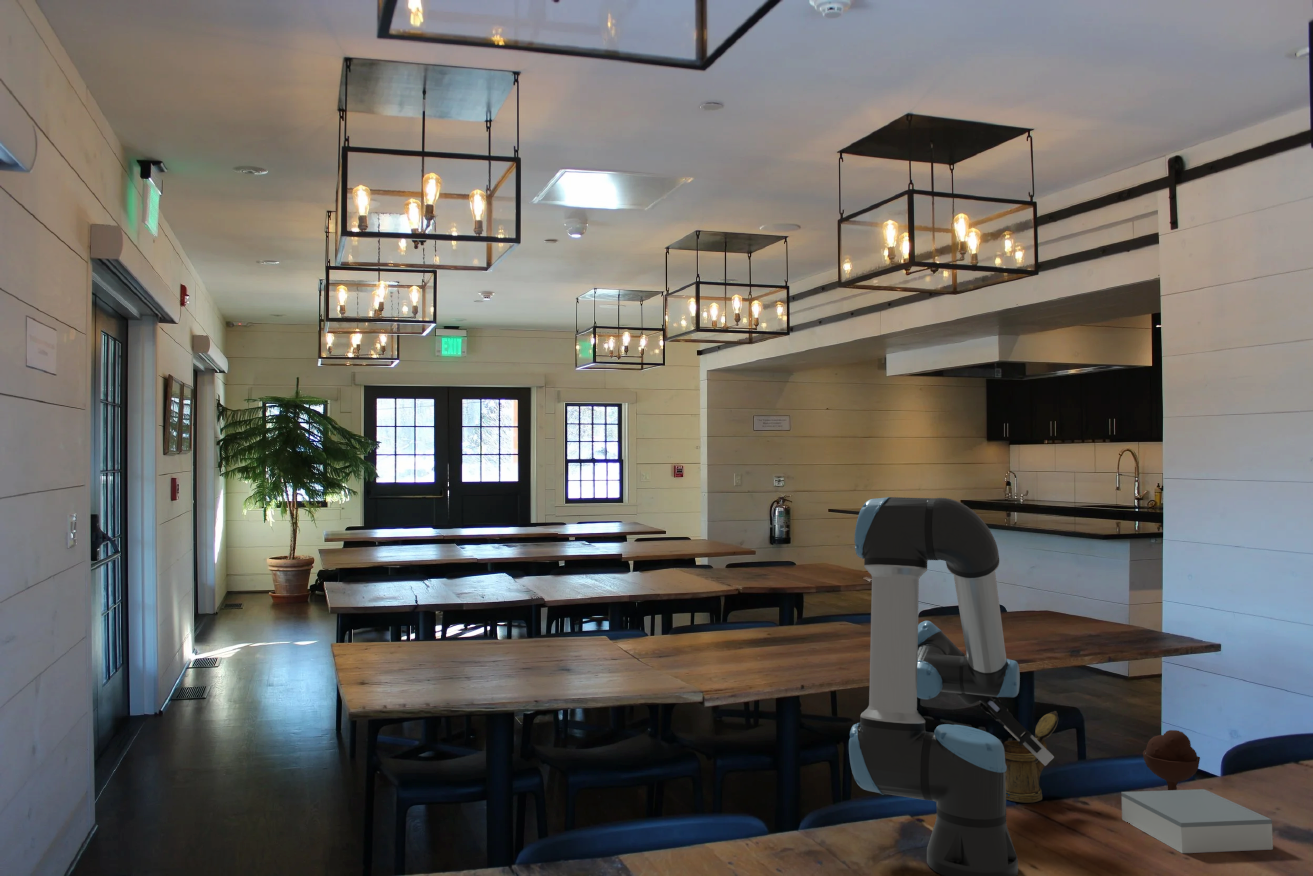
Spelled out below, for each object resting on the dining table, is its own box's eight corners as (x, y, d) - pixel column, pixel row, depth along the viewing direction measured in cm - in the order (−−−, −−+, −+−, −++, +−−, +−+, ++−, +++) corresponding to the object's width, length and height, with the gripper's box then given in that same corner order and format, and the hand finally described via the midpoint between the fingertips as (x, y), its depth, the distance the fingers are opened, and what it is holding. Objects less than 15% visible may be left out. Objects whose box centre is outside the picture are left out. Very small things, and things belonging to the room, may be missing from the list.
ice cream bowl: (1202, 797, 203) (1200, 727, 204) (1200, 812, 193) (1197, 738, 194) (1147, 789, 208) (1145, 720, 209) (1142, 803, 199) (1140, 731, 200)
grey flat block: (1182, 853, 171) (1181, 823, 171) (1122, 819, 189) (1121, 792, 189) (1272, 849, 173) (1271, 819, 173) (1205, 816, 191) (1204, 789, 191)
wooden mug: (1070, 801, 200) (1068, 715, 201) (1009, 804, 198) (1008, 717, 199) (1048, 788, 209) (1046, 706, 210) (990, 790, 207) (988, 707, 208)
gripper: (994, 679, 194) (1071, 756, 191) (965, 658, 218) (1033, 726, 216) (968, 705, 194) (1045, 782, 192) (942, 681, 219) (1010, 749, 216)
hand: (1039, 752), depth 204 cm, fingers open, 13 cm apart
